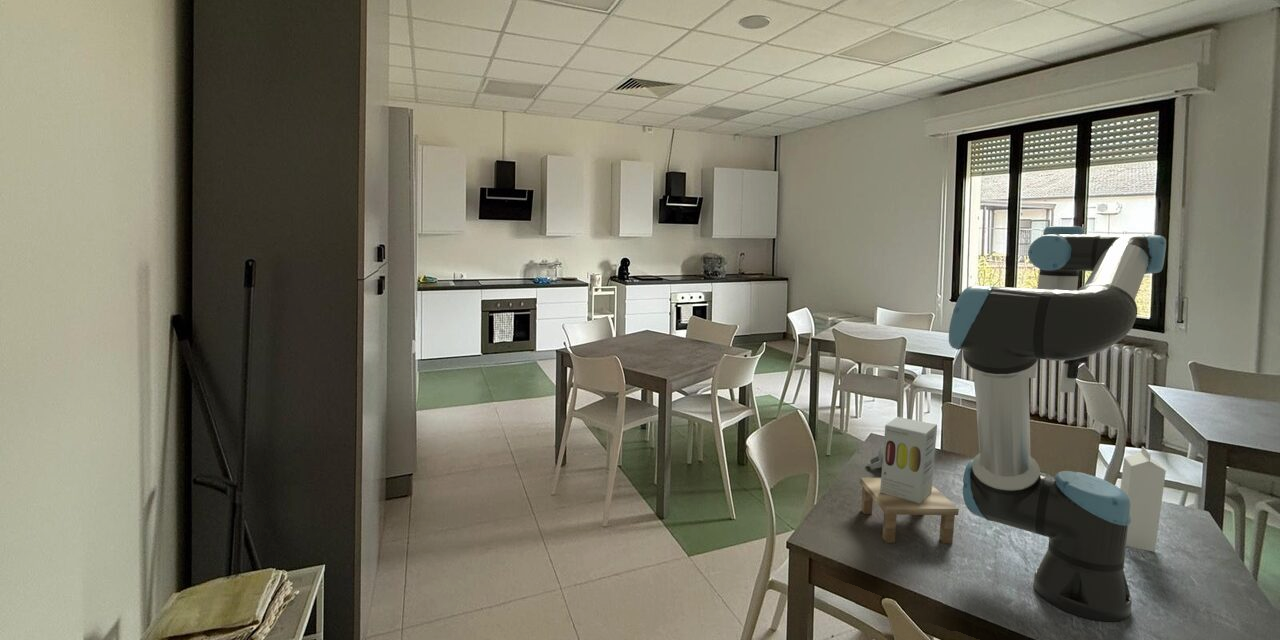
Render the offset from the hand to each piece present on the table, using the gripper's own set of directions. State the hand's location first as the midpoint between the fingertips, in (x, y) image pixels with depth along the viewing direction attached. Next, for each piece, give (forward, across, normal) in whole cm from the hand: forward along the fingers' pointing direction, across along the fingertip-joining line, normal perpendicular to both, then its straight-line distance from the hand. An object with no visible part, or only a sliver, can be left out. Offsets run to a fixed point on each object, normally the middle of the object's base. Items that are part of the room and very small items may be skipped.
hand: (1046, 384), depth 140 cm
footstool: (+35, -2, +32) cm, 47 cm away
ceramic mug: (+35, +33, +22) cm, 53 cm away
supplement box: (+26, -2, +32) cm, 41 cm away
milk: (+35, -9, -17) cm, 40 cm away
